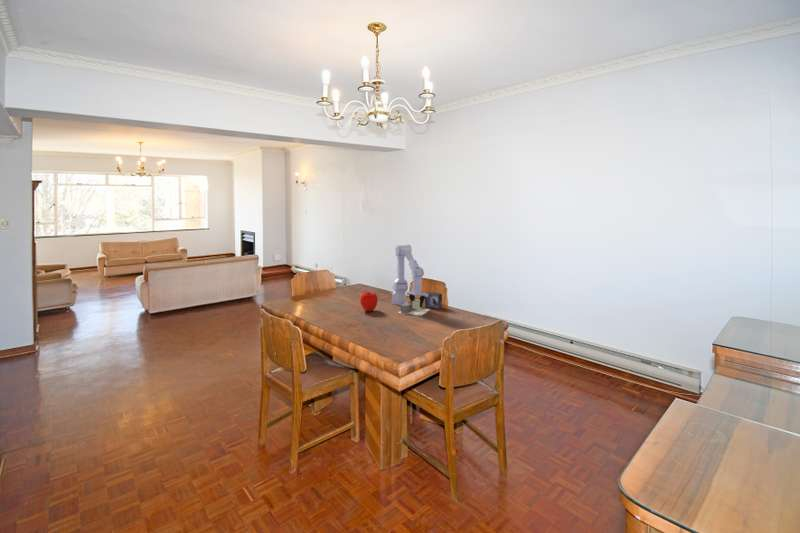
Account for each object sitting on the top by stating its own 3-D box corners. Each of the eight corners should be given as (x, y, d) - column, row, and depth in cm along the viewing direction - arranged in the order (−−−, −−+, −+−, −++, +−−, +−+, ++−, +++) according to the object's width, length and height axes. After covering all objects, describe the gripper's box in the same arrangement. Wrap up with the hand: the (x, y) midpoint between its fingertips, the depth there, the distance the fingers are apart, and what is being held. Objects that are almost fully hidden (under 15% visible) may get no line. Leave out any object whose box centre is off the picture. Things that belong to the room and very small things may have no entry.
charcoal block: (400, 312, 266) (400, 305, 265) (403, 310, 270) (403, 303, 269) (407, 313, 264) (407, 306, 263) (410, 311, 268) (410, 304, 267)
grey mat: (397, 313, 265) (397, 312, 265) (407, 307, 280) (407, 306, 280) (421, 316, 259) (421, 315, 258) (430, 310, 273) (430, 309, 273)
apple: (361, 314, 263) (360, 294, 261) (359, 309, 275) (359, 290, 272) (378, 313, 266) (378, 293, 263) (376, 308, 277) (376, 289, 275)
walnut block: (404, 309, 272) (404, 304, 271) (408, 307, 278) (408, 301, 278) (414, 311, 269) (414, 305, 268) (417, 308, 275) (418, 302, 275)
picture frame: (424, 308, 278) (424, 293, 276) (428, 305, 284) (428, 291, 282) (438, 310, 273) (438, 295, 272) (442, 307, 279) (442, 293, 277)
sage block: (412, 308, 263) (412, 301, 262) (415, 306, 267) (415, 299, 266) (419, 309, 261) (419, 301, 260) (422, 307, 265) (422, 300, 264)
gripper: (404, 286, 261) (404, 306, 263) (425, 288, 255) (425, 309, 257) (408, 284, 267) (408, 304, 269) (429, 286, 261) (429, 306, 264)
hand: (417, 306), depth 264 cm, fingers closed on sage block, 5 cm apart
